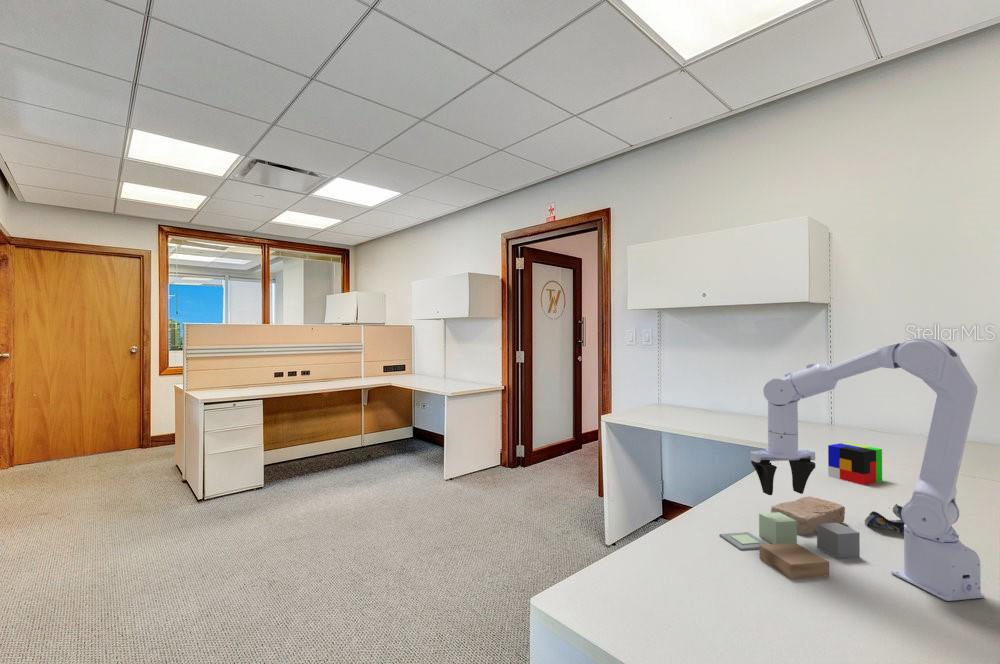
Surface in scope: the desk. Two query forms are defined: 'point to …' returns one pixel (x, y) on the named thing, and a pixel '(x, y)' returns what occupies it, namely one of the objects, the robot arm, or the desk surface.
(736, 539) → the plaque
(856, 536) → the charcoal block
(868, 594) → the desk surface
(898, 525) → the snack package
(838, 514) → the brick
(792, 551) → the light brown block
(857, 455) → the puzzle toy
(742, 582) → the desk surface
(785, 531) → the sage block
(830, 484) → the desk surface
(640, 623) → the desk surface
